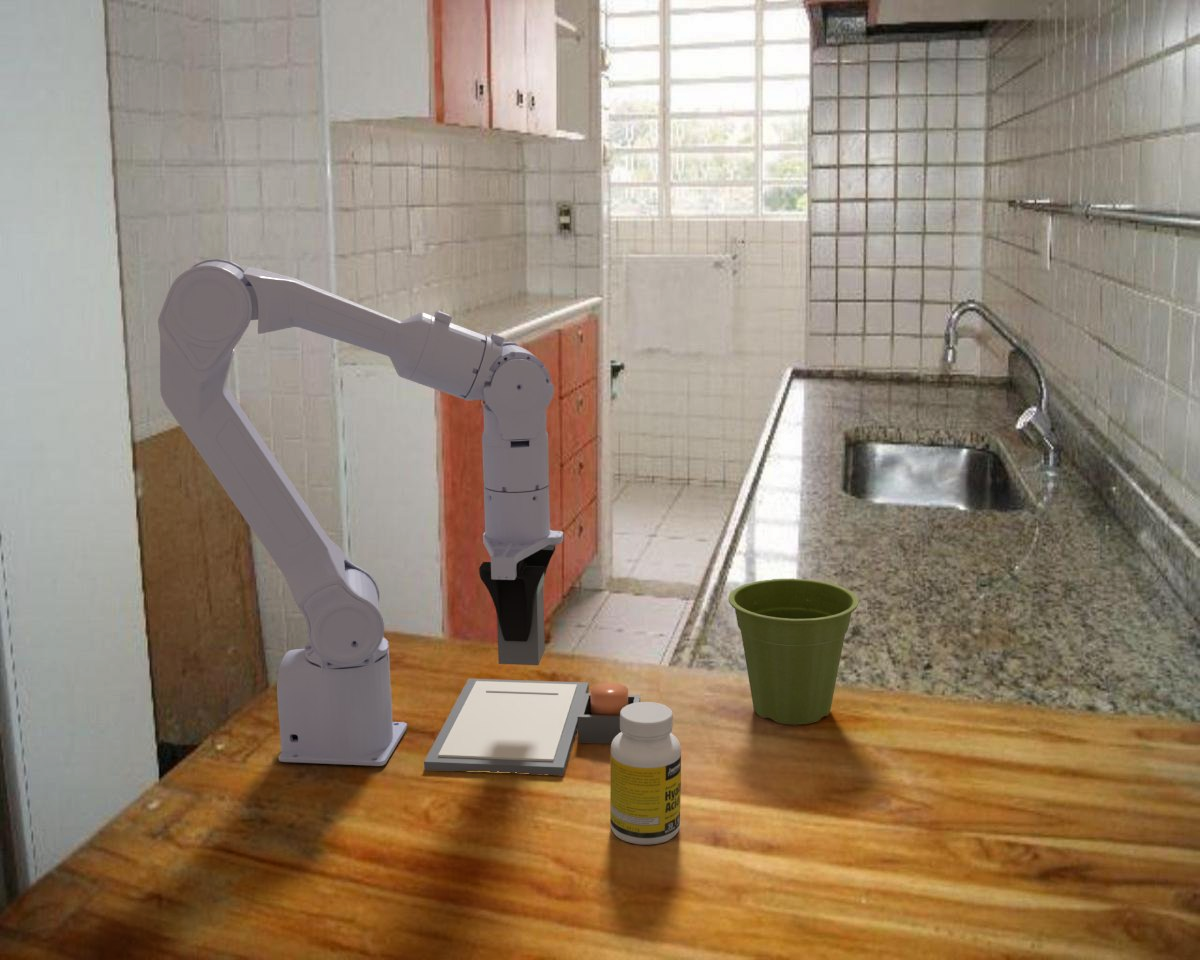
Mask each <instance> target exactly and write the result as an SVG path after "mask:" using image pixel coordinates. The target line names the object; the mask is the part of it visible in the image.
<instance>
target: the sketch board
mask: <svg viewBox="0 0 1200 960" xmlns="http://www.w3.org/2000/svg"><path fill="white" fill-rule="evenodd" d="M584 693H589V682H581V681H580V682H579V681H552V680H551V681H549V680H527V679H526V680H523V679H522V680H521V679H498V678H497V679H496V678H495V679H492V678H489V679H488V678H468V679H467V681H466V683H465V685H464V686H463V688H462V690H461V692H460V694H459V696H458V697H457V699H456V702H455V703H454V705H453V706H452V708H451V710H450V712H449V715H448V716H447V718H446V720H445V722H444V724H443V726H442V727H441V730H440V731H439V733H438V734H437V736H436V739H435V741H433V744H432V746H431V748H430V750H429V752H428V753H427V755H426V758H425V759H424V762H423V767H424V769H423V770H424V771H433V772H435V771H437V772H454V771H490V772H497V771H499V772H510V773H515V772H517V773H529V774H542V775H541V776H545V775H544V774H548V775H547V776H549V775H560V776H559V777H564V776H565V773H566V769H567V766H568V763H569V759H570V756H569V755H571V753H570V752H571V751H572V749H573V745H574V742H575V738H576V735H577V733H578V719H577V717H578V713H579V710H580V706H581V703H582V700H583V696H584ZM567 762H568V763H567Z"/></svg>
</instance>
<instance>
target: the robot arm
mask: <svg viewBox="0 0 1200 960" xmlns="http://www.w3.org/2000/svg"><path fill="white" fill-rule="evenodd" d="M160 310H161V311H160V313H159V316H158V318H157V324H158V331H159V333H158V334H159V379H160V380H159V381H160V383H159V384H160V385H159V387H160V388H159V390H160V397H161V398H162V400H163V402H164V405H165V406H166V407H167V409H168V410H169V412H170V414H171V415H172V416H173V417H174V419H175V420H176V422H177V424H178V425H179V426H180V428H181V429H182V430H183V432H184V434H185V435H186V436H187V438H188V439H189V441H190V442H191V444H192V445H193V447H194V448H195V450H196V451H197V452H198V454H199V455H200V456H201V458H202V459H203V461H204V463H205V464H206V465H207V466H208V468H209V469H210V471H211V472H212V474H213V476H214V477H215V478H216V480H217V481H218V483H219V484H220V486H222V488H223V490H224V491H225V493H226V494H227V496H228V497H229V498H230V500H231V501H232V502H233V504H234V506H235V507H236V509H237V510H238V511H239V513H240V514H241V515H242V517H243V518H244V520H245V522H246V523H247V524H248V525H249V527H250V529H251V530H252V531H253V533H254V534H255V536H256V537H257V539H258V540H259V542H260V543H261V544H262V546H263V548H264V549H265V550H266V551H267V553H268V555H269V556H270V557H271V559H272V560H273V562H274V563H275V565H276V566H277V568H278V569H279V570H280V572H281V574H282V575H283V577H284V579H285V582H286V584H287V587H288V588H289V591H290V593H291V597H292V598H293V601H294V604H295V605H296V606H297V608H298V610H299V612H301V614H302V616H303V618H304V621H305V623H306V630H307V631H306V634H307V639H308V642H307V643H306V644H305V646H304V647H305V648H295V649H290V650H287V652H286V653H285V654H284V656H283V657H282V659H281V662H280V665H279V669H278V673H277V681H276V683H277V684H276V698H277V711H278V725H279V737H280V748H281V750H280V751H281V752H280V754H279V755H278V760H279V762H281V763H296V764H297V763H299V764H300V763H301V764H322V765H323V764H326V765H347V766H352V765H353V766H372V767H374V766H375V767H381V766H384V765H386V764H387V762H388V760H389V759H390V757H391V756H392V754H393V752H394V751H395V749H396V747H397V745H398V744H399V742H400V741H401V739H402V738H403V735H404V734H405V733H406V730H407V729H408V723H406V722H404V721H393V720H394V719H393V701H392V684H391V681H392V680H391V668H390V667H391V664H390V645H389V643H390V642H389V641H388V640H387V638H385V636H384V635H385V633H384V632H385V622H384V618H383V616H382V613H381V608H380V590H379V589H380V588H379V587H378V586H379V585H378V584H377V582H376V580H375V579H374V576H373V575H371V574H370V573H369V572H368V571H367V570H366V569H364V568H362V567H360V566H358V565H356V564H355V563H353V562H352V561H351V560H349V558H348V557H347V556H346V555H345V553H344V551H343V550H342V549H341V548H340V546H338V544H336V542H334V541H333V540H332V539H331V538H329V536H328V535H327V533H326V532H325V531H324V529H323V528H322V526H321V524H320V523H319V521H318V520H317V517H315V515H314V514H313V513H312V511H311V509H310V508H309V506H308V505H307V503H306V502H305V500H304V499H303V497H302V496H301V494H300V493H299V492H298V490H297V488H296V487H295V485H294V484H293V483H292V481H291V480H290V478H289V477H288V474H286V472H285V471H284V469H283V468H282V466H281V464H280V463H279V462H278V460H277V459H276V457H275V456H274V455H273V453H272V451H271V450H270V449H269V446H267V444H266V443H265V440H263V438H262V437H261V435H260V433H259V432H258V431H257V429H256V427H255V426H254V425H253V423H252V421H251V420H250V419H249V416H247V414H246V413H245V412H244V409H243V408H242V407H241V406H240V404H239V402H238V401H237V399H236V398H235V396H234V395H233V393H232V392H231V390H230V389H229V388H228V385H227V382H228V381H227V380H228V377H229V373H230V369H231V366H232V365H231V364H232V362H233V358H234V354H235V348H236V346H237V345H238V344H239V342H240V340H241V339H242V337H243V335H244V333H245V332H246V331H247V328H248V327H249V325H250V323H251V321H256V320H257V334H258V335H260V334H266V333H271V332H276V331H280V330H285V329H290V328H299V329H302V330H306V331H309V332H312V333H315V334H318V335H322V336H324V337H328V338H331V339H332V340H333V339H334V340H337V341H340V342H343V343H346V344H348V345H353V346H355V347H359V348H362V349H366V350H367V351H371V352H375V353H378V354H381V355H382V356H383V355H384V356H386V357H388V358H389V359H390V361H391V363H392V365H393V367H394V370H395V372H396V374H397V376H398V377H399V378H402V379H405V380H407V381H410V382H413V383H417V384H418V385H422V386H425V387H427V388H431V389H433V390H437V391H439V392H441V393H444V394H448V395H450V396H453V397H455V398H458V399H462V400H464V401H467V402H470V401H475V400H482V401H483V402H484V403H485V404H483V406H482V408H483V411H482V412H483V432H482V433H481V445H482V446H481V447H482V448H481V449H482V450H481V451H482V471H483V472H482V475H483V479H482V480H483V504H484V505H483V508H484V512H483V513H484V532H483V534H482V541H483V542H482V543H483V545H484V547H485V549H486V551H487V552H488V555H489V556H490V561H483V562H482V563H481V564H480V566H479V567H478V571H479V572H478V574H479V578H480V579H481V582H482V583H483V584H484V586H485V587H486V589H487V591H488V593H489V595H490V597H491V600H492V602H493V605H494V609H495V611H496V612H495V613H496V617H497V616H498V620H499V624H500V628H501V632H502V635H503V638H504V640H505V641H520V642H526V641H527V640H528V637H529V634H530V630H531V624H532V616H533V607H534V601H535V596H536V592H537V588H538V585H539V582H540V580H541V577H542V575H543V573H544V578H545V577H546V575H547V570H548V567H549V564H550V562H551V559H552V556H553V555H554V554H555V551H556V545H560V544H562V543H563V541H564V531H561V530H552V529H551V517H550V514H551V513H550V510H551V509H550V474H549V473H550V472H549V471H550V470H549V469H550V467H549V465H550V464H549V463H550V461H549V434H548V431H547V421H548V418H547V417H548V415H547V408H549V405H550V404H551V402H552V400H553V395H554V392H555V385H554V384H553V383H552V381H551V380H552V379H551V378H552V377H551V375H550V372H549V371H548V369H547V366H545V364H544V363H543V362H542V360H541V359H539V358H538V357H537V356H536V355H534V354H533V353H532V352H530V351H529V350H528V349H526V348H524V347H522V346H519V344H518V343H516V342H514V341H513V342H512V341H505V337H504V336H502V335H500V334H497V333H495V332H492V333H491V335H490V336H487V335H485V334H482V333H479V332H476V331H475V330H474V331H473V330H472V329H469V328H466V327H463V326H461V325H458V324H455V323H452V316H451V315H450V314H448V313H446V312H443V311H440V310H439V309H438V310H436V311H435V312H434V315H431V314H428V313H426V312H423V311H422V312H418V313H416V314H414V315H412V316H410V317H408V318H405V319H401V320H400V319H396V318H395V317H392V316H389V315H388V314H387V315H386V314H384V313H382V312H379V311H377V310H375V309H373V308H372V309H371V308H369V307H367V306H364V305H362V304H360V303H357V302H355V301H352V300H351V299H350V300H349V299H347V298H344V297H342V296H340V295H338V294H334V293H332V292H330V291H327V290H325V289H322V288H320V287H317V286H315V285H313V284H310V283H307V282H306V281H303V280H299V279H297V278H295V277H292V276H288V275H285V274H280V273H277V272H274V271H270V270H265V269H263V268H257V267H253V266H248V267H247V268H246V269H245V268H243V267H242V266H240V265H238V264H237V263H236V262H232V261H231V260H226V259H224V258H222V259H221V258H209V259H205V260H201V261H200V262H197V263H195V264H194V265H192V266H190V268H188V269H187V270H185V271H183V272H182V273H181V274H179V275H178V277H176V278H175V279H174V281H173V282H172V284H171V285H170V288H169V289H168V292H167V294H166V298H165V300H164V303H163V305H162V308H161V309H160ZM527 566H537V567H527Z"/></svg>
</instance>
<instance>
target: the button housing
mask: <svg viewBox="0 0 1200 960" xmlns="http://www.w3.org/2000/svg"><path fill="white" fill-rule="evenodd" d="M637 702H641V694H628V705H629V704H632V703H637ZM577 719H578V728H577V743H581V744H601V745H603V744H605V745H611V744H612V741H613V739H614V738H615V737H616V736H617V735H618V734H619V733H620V732H621V730H620V716H610V715H593V714H592V713H591V692H588V693H584V696H583V700H582V703H581V706H580V710H579V713H578V717H577Z"/></svg>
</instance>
